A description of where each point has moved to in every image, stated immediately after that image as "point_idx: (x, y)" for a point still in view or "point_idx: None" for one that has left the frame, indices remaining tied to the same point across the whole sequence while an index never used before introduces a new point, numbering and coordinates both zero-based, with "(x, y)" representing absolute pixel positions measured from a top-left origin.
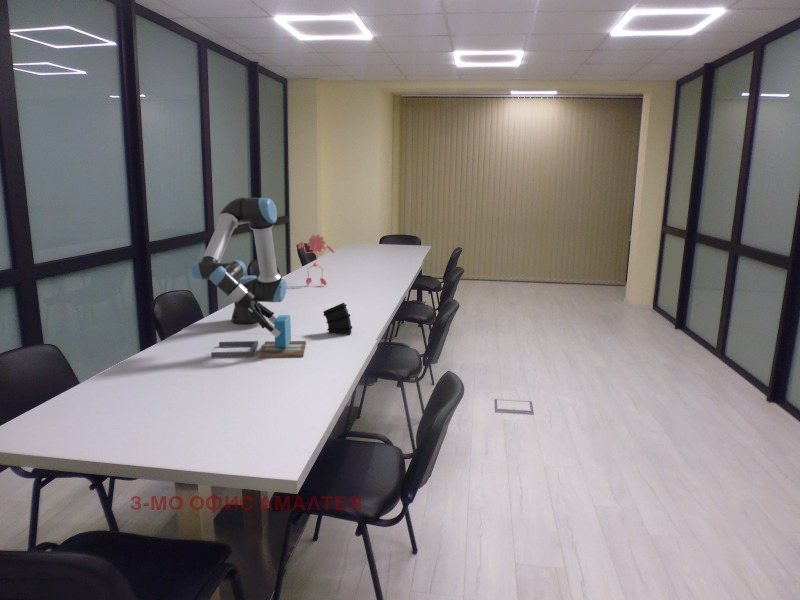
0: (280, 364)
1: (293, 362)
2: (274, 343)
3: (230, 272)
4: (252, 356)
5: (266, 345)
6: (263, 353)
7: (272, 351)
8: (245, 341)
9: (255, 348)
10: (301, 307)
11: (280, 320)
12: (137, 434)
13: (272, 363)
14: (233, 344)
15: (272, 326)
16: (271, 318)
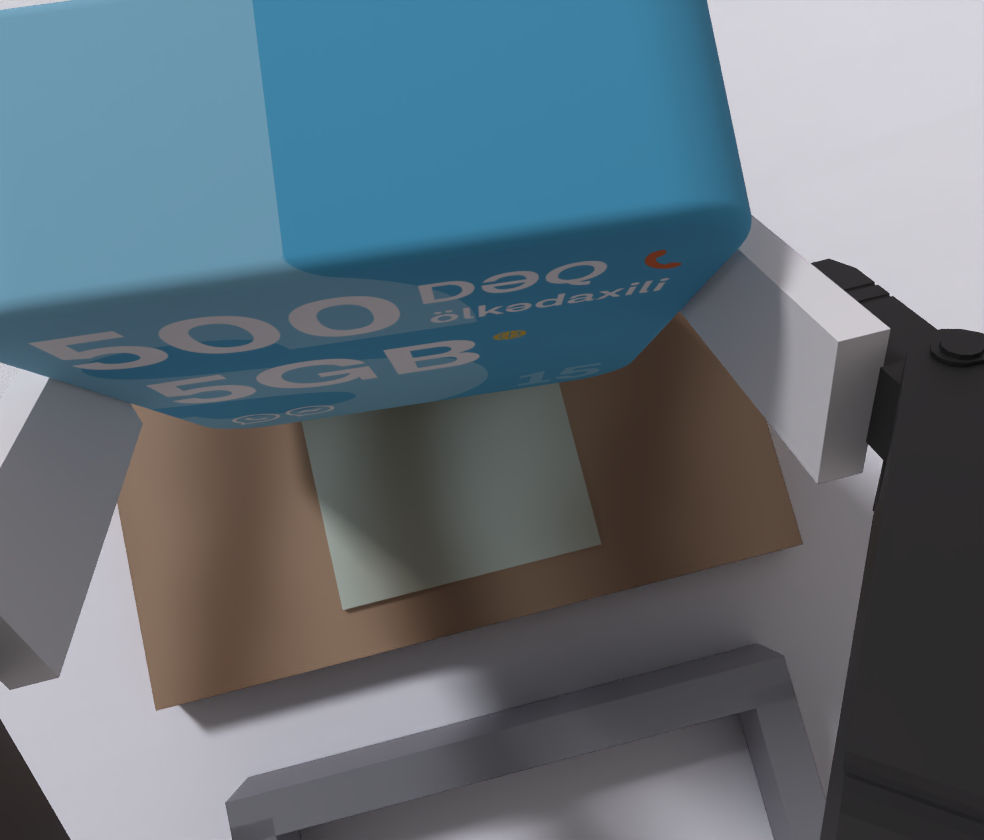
0: (951, 200)
1: (848, 83)
2: (239, 534)
3: None
4: (759, 647)
5: (352, 613)
6: (717, 510)
7: (609, 424)
8: None
9: (512, 718)
10: None
11: (658, 58)
12: None
13: (941, 301)
14: None
15: (812, 278)
16: (25, 600)
